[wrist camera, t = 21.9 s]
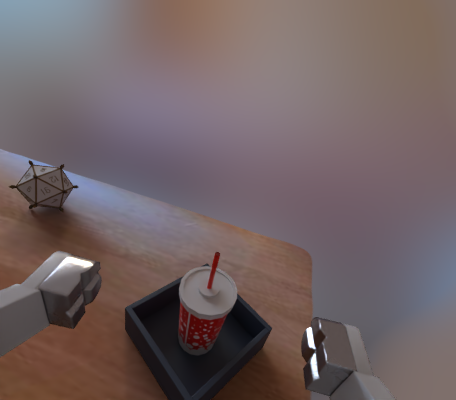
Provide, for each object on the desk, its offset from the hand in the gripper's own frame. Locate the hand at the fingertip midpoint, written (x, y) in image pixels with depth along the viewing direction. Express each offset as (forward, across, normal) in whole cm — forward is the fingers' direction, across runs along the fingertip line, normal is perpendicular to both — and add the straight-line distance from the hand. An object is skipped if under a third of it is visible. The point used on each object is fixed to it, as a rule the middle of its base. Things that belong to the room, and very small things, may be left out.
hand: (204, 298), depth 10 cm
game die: (+29, +31, +24) cm, 49 cm away
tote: (+12, 0, +24) cm, 27 cm away
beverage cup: (+12, 0, +23) cm, 26 cm away
